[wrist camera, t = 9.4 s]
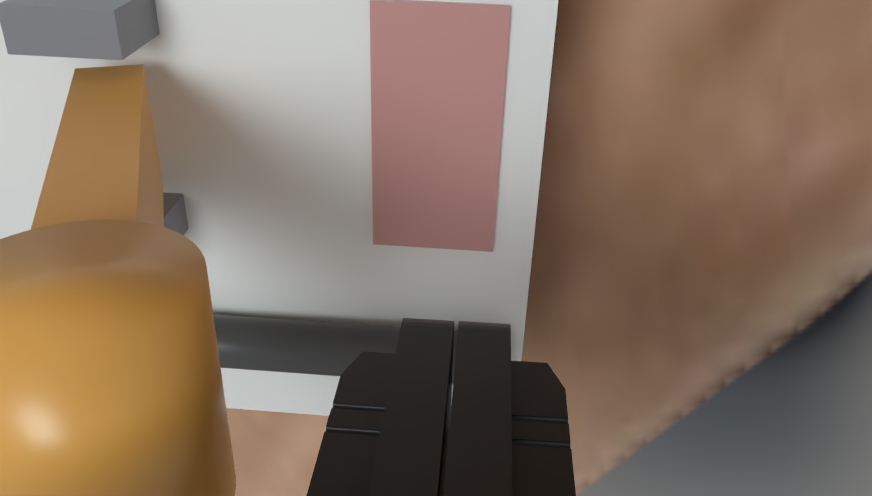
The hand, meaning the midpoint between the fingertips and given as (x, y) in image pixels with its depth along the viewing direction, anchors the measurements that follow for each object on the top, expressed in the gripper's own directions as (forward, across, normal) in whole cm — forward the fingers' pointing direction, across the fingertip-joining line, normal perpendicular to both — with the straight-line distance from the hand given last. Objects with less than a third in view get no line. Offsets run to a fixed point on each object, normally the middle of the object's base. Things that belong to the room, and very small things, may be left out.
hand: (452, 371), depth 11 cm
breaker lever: (+8, +8, 0) cm, 11 cm away
